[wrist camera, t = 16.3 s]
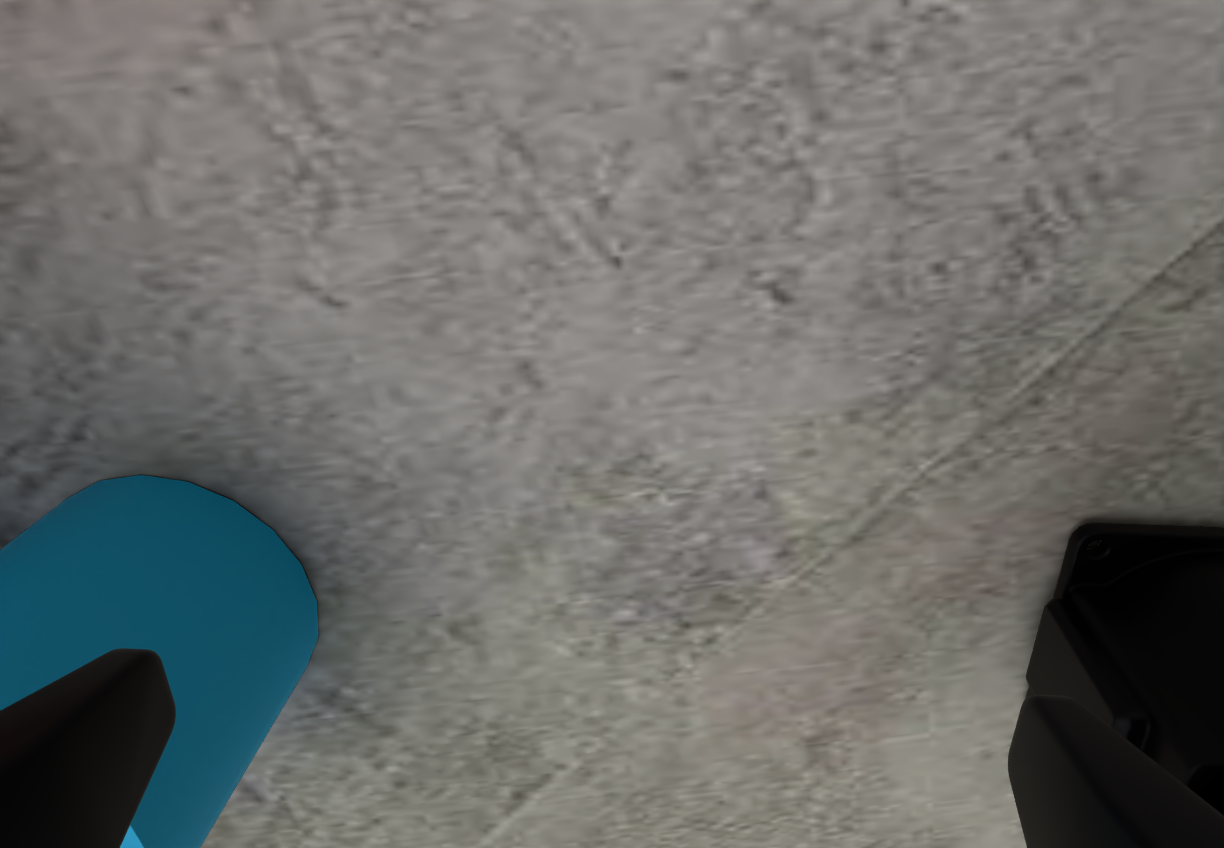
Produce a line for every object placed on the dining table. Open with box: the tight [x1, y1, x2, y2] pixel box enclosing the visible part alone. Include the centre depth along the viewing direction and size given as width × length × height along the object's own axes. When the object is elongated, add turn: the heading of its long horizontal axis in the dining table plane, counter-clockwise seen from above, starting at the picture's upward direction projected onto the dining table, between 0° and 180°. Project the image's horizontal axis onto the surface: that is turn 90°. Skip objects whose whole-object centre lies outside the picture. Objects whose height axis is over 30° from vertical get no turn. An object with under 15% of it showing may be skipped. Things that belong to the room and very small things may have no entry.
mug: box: [0, 475, 319, 848], centre depth 20 cm, size 12×8×8 cm
